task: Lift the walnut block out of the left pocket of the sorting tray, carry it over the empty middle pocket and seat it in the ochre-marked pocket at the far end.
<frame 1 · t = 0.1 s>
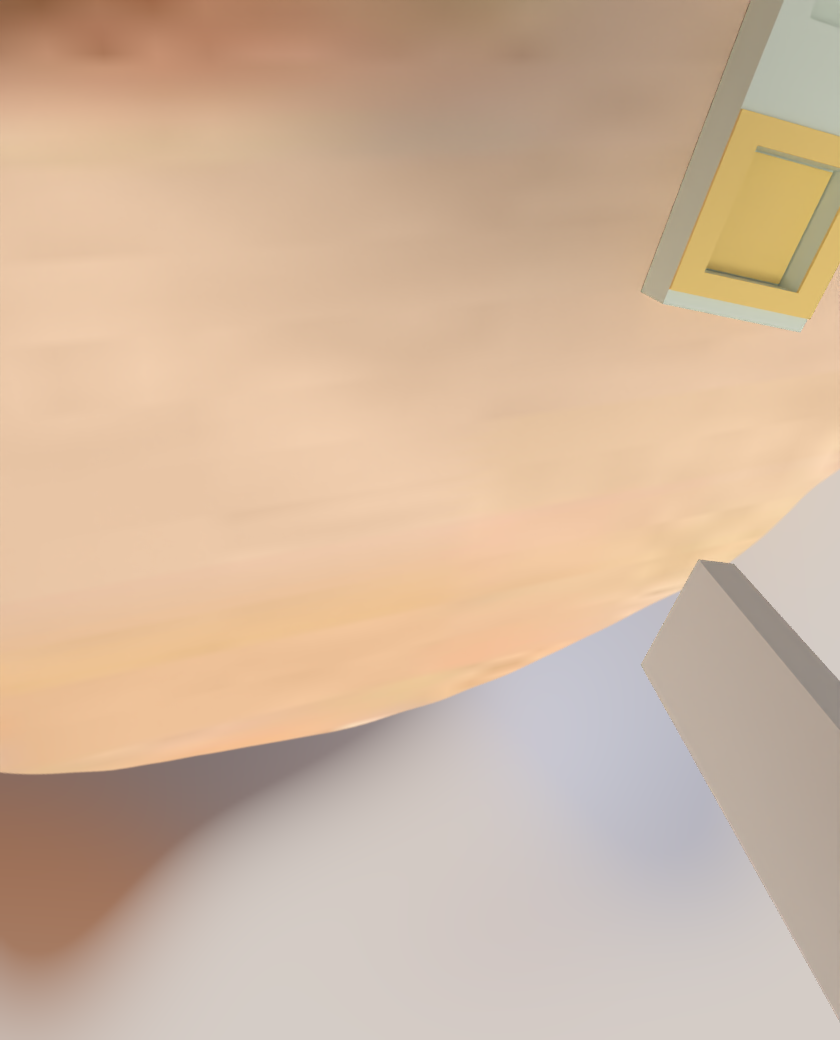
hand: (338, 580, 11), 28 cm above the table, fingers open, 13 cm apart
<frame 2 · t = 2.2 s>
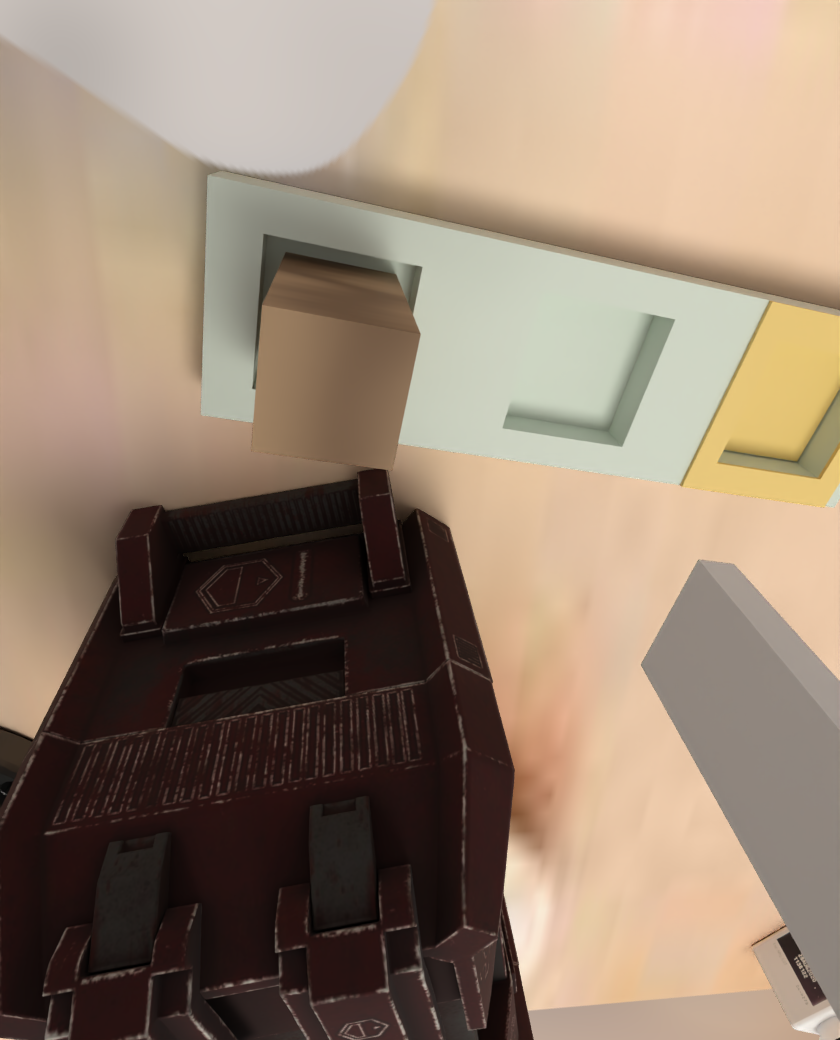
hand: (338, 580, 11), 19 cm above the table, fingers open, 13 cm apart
walnut block: (334, 318, 26), point 1 cm above the table, touching sorting tray
container: (795, 934, 69), on the table
sorting tray: (564, 354, 29), on the table
crate: (330, 709, 41), on the table
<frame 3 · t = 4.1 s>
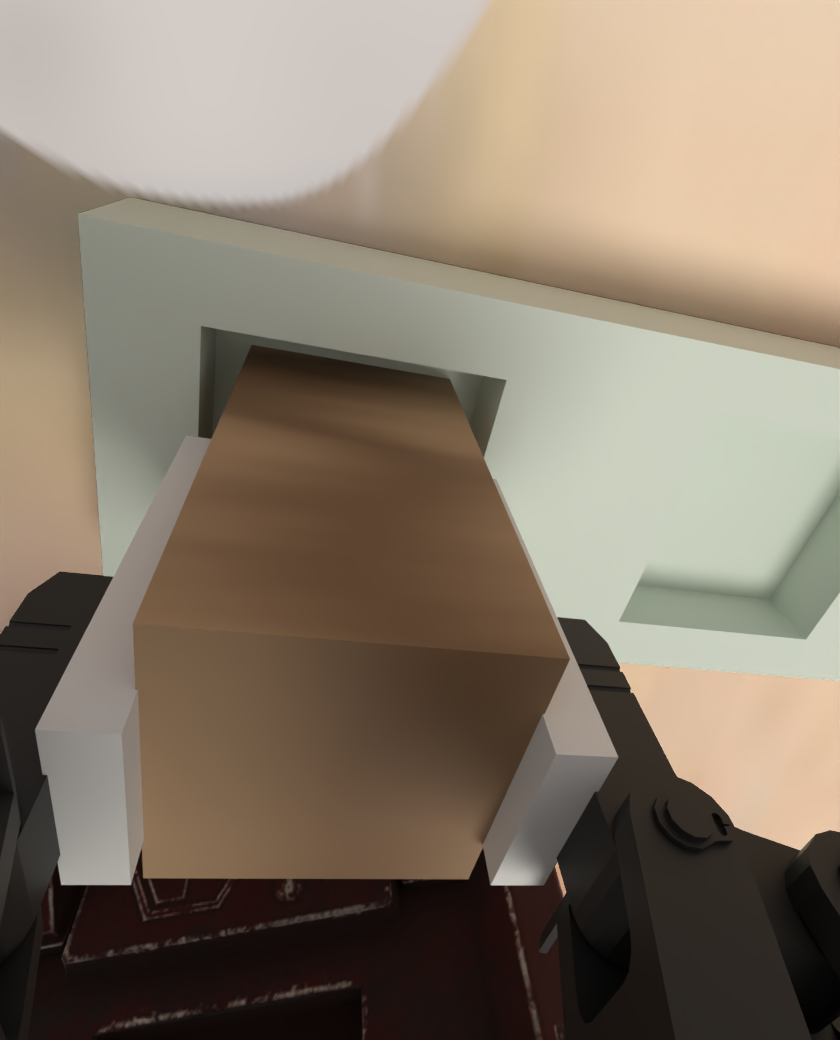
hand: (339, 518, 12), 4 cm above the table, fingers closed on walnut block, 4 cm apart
walnut block: (339, 451, 15), point 1 cm above the table, touching gripper, sorting tray
sorting tray: (709, 486, 18), on the table
crate: (337, 918, 30), on the table
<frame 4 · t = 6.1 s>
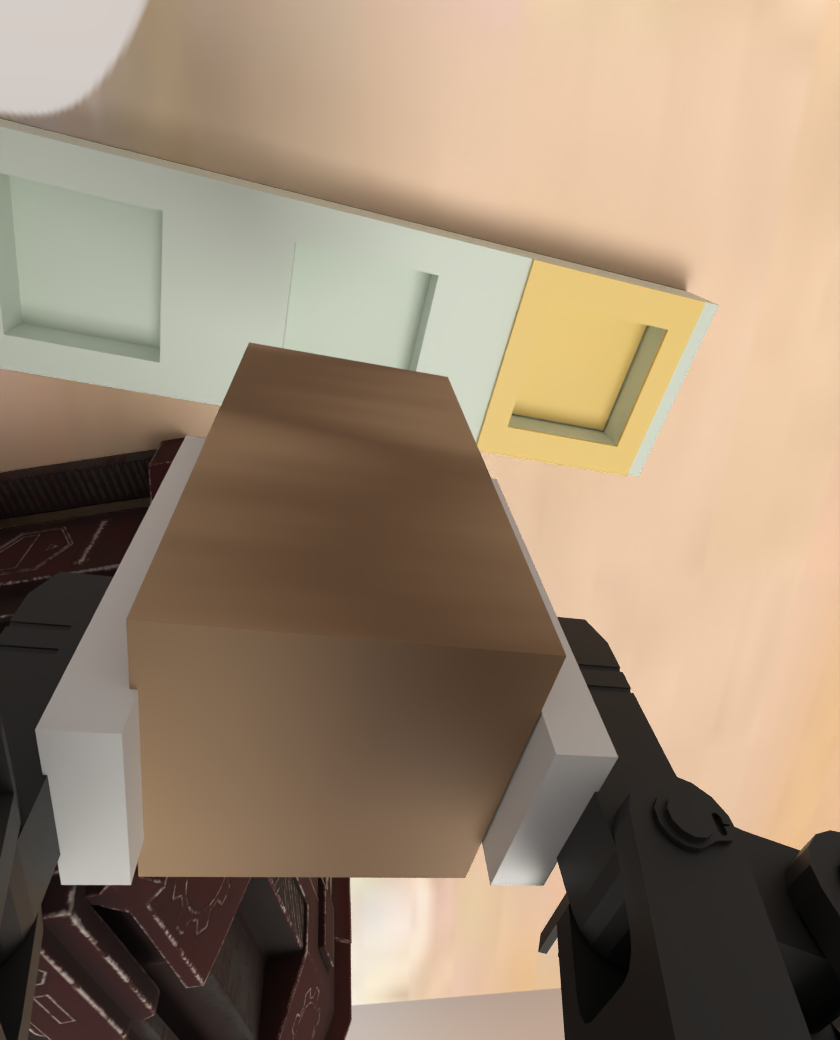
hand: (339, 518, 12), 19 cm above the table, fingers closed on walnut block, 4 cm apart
walnut block: (337, 449, 15), point 16 cm above the table, touching gripper
sorting tray: (353, 314, 29), on the table
crate: (174, 686, 41), on the table
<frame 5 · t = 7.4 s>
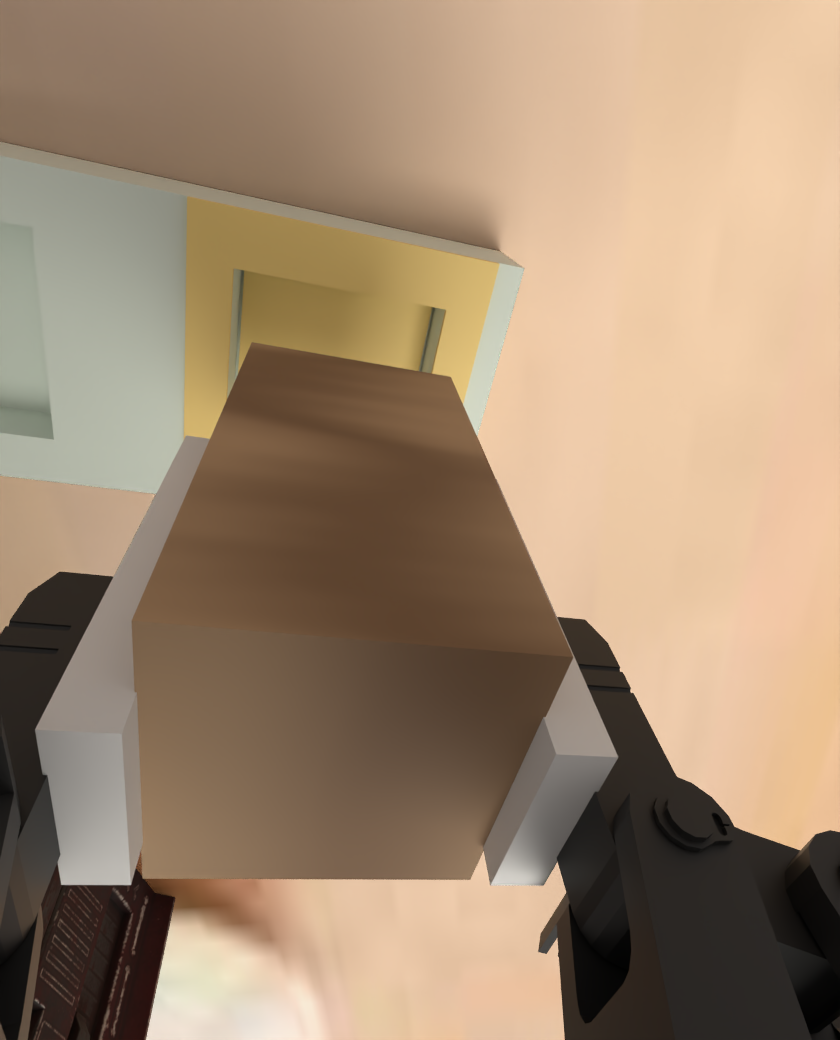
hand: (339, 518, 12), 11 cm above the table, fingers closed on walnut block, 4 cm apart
walnut block: (340, 449, 15), point 8 cm above the table, touching gripper
when the fingers open (6 cm above the table, at t = 8.4 s): walnut block drops 1 cm, resting on sorting tray.
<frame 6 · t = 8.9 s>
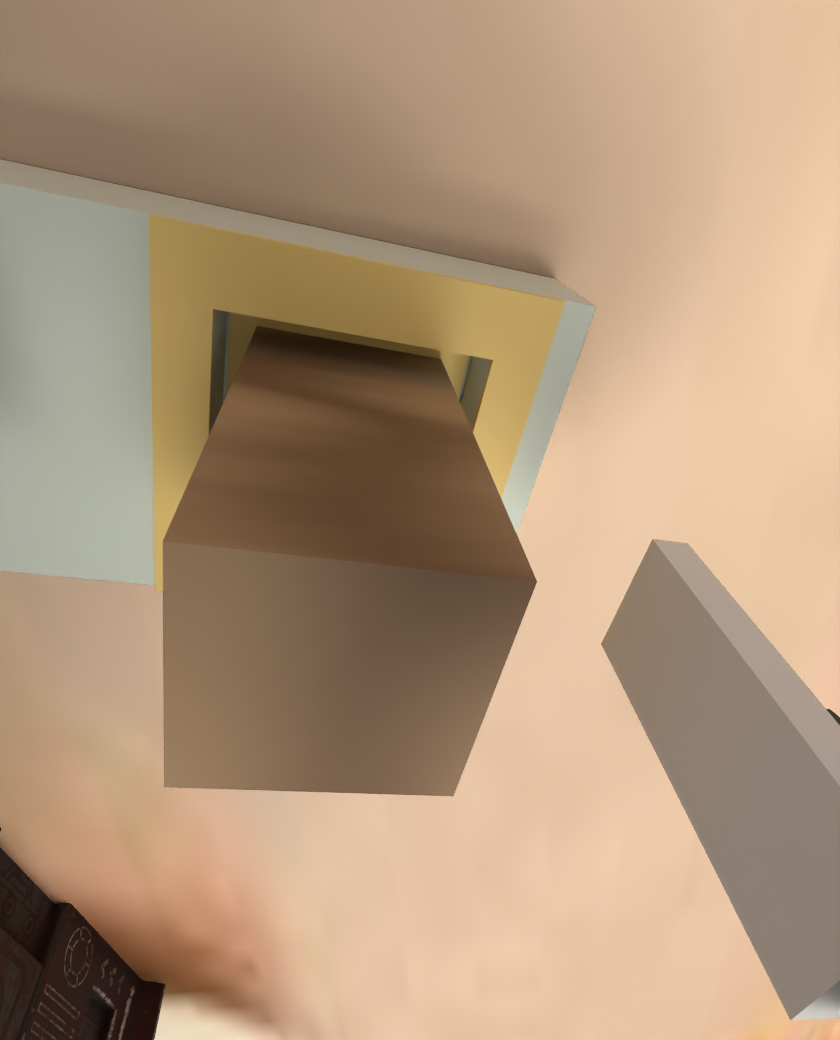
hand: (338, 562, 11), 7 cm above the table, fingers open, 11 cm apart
walnut block: (338, 427, 16), point 1 cm above the table, touching sorting tray
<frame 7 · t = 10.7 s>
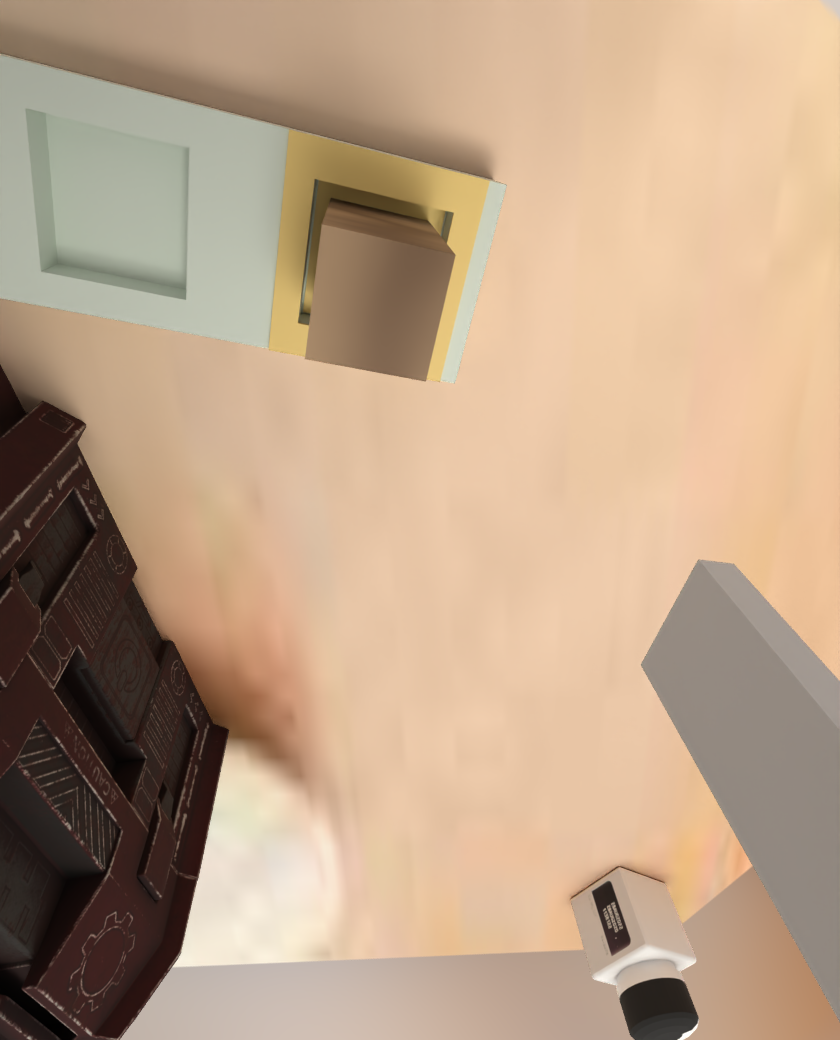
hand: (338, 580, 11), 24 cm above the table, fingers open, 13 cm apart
walnut block: (371, 261, 29), point 1 cm above the table, touching sorting tray
container: (616, 888, 67), on the table
sorting tray: (134, 204, 28), on the table
crate: (31, 623, 41), on the table
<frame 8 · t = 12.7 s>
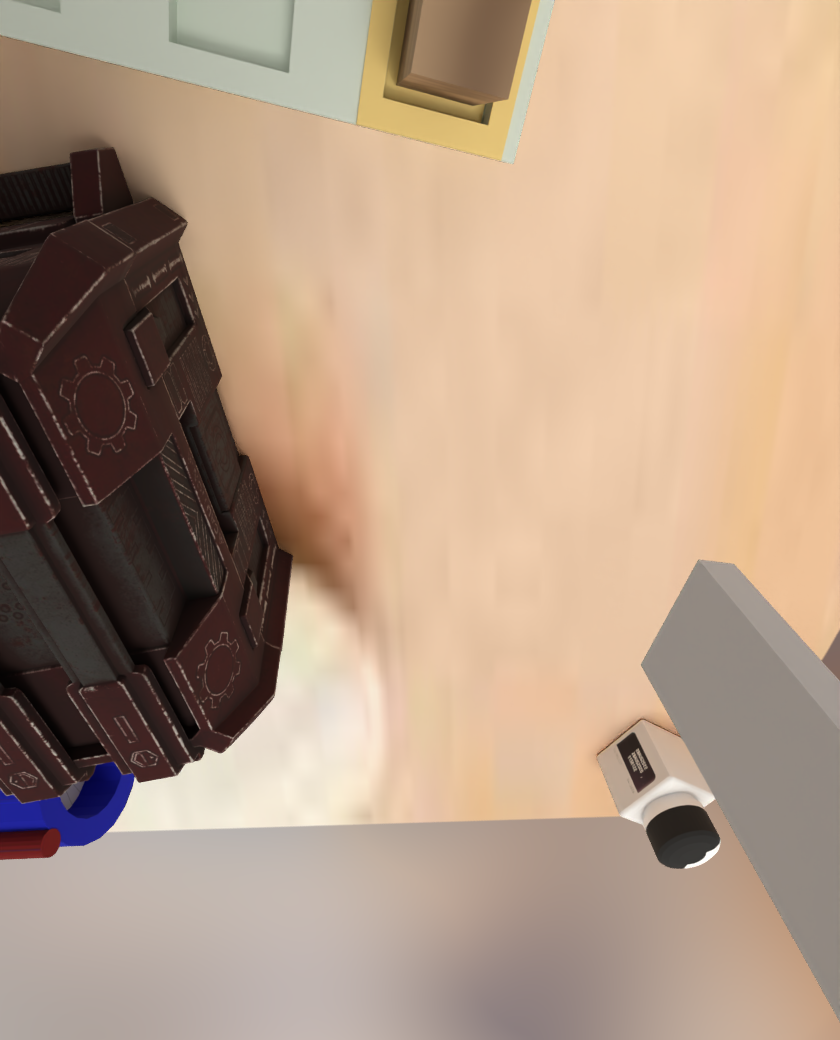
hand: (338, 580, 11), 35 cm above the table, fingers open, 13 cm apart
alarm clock: (70, 709, 59), on the table
walnut block: (443, 47, 33), point 1 cm above the table, touching sorting tray
container: (639, 745, 72), on the table
crate: (123, 435, 45), on the table
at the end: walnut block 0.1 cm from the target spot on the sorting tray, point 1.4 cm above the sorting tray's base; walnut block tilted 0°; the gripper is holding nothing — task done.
